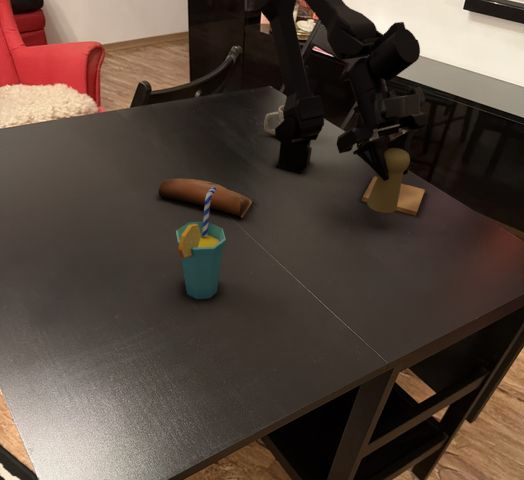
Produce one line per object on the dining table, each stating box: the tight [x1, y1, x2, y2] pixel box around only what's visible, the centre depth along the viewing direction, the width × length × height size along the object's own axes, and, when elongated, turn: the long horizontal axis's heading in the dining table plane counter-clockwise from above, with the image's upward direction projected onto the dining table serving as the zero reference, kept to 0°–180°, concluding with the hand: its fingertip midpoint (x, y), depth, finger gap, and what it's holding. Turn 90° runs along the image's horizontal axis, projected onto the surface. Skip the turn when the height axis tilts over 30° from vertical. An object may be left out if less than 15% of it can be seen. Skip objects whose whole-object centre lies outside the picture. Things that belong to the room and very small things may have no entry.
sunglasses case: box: [158, 178, 253, 219], centre depth 98 cm, size 18×7×7 cm
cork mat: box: [361, 176, 426, 217], centre depth 107 cm, size 12×11×1 cm
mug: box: [263, 104, 285, 135], centre depth 122 cm, size 10×7×7 cm
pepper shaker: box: [366, 148, 411, 214], centre depth 92 cm, size 6×6×11 cm
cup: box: [175, 187, 227, 300], centre depth 75 cm, size 14×8×15 cm, turn 170°
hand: (396, 177), depth 90 cm, fingers closed on pepper shaker, 5 cm apart
